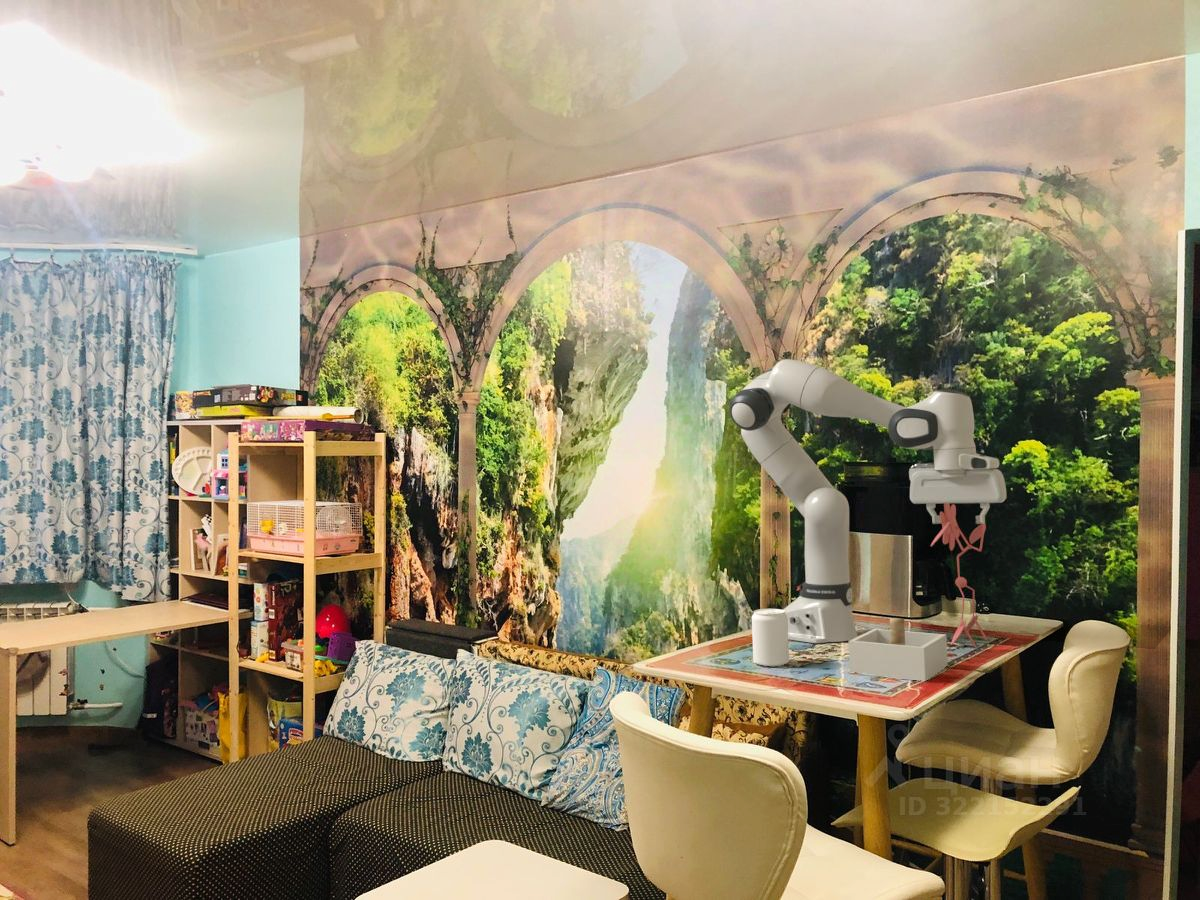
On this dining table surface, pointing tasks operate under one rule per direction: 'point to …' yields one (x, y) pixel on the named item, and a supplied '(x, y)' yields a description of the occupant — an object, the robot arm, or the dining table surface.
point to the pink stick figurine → (949, 535)
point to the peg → (897, 631)
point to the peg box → (898, 654)
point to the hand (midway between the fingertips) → (958, 523)
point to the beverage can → (770, 637)
